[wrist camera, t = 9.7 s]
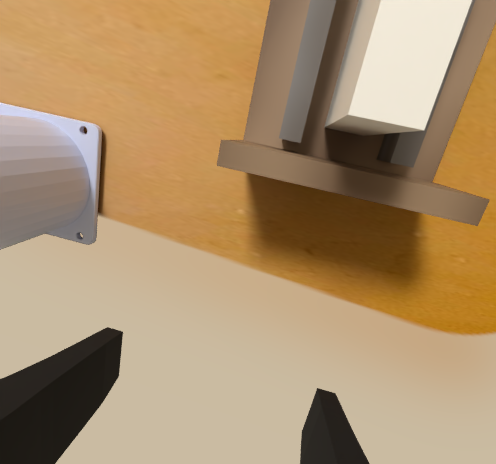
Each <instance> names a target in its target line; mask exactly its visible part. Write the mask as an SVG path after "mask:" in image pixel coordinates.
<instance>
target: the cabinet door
mask: <svg viewBox="0 0 496 464" xmlns="http://www.w3.org/2000/svg"><path fill="white" fill-rule="evenodd" d="M471 2H472V0H359V1H358V5H357V8H356V12H355V16H354V19H353V23H352V27H351V31H350V34H349V38H348V42H347V45H346V49H345V53H344V56H343V60H342V64H341V68H340V71H339V75H338V79H337V82H336V86H335V90H334V93H333V97H332V101H331V105H330V108H329V112H328V116H327V119H326V123H325V127H324V128H329V129H334V130H338V131H343V132H348V133H352V134H357V135H362V136H366V135H378V134H389V133H400V132H412V131H423V130H425V127H426V124H427V122H428V119H429V116H430V113H431V111H432V108H433V105H434V103H435V100H436V97H437V94H438V92H439V89H440V86H441V84H442V81H443V78H444V75H445V73H446V70H447V67H448V65H449V62H450V59H451V56H452V54H453V51H454V48H455V46H456V43H457V40H458V37H459V35H460V32H461V29H462V27H463V24H464V21H465V18H466V16H467V13H468V10H469V8H470V5H471Z"/></svg>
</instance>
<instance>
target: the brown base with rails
mask: <svg viewBox="0 0 496 464" xmlns="http://www.w3.org/2000/svg"><path fill="white" fill-rule="evenodd" d="M358 1H359V0H271V1H270V6H269V11H268V16H267V21H266V26H265V32H264V37H263V42H262V47H261V52H260V57H259V62H258V68H257V73H256V78H255V83H254V88H253V93H252V98H251V104H250V109H249V114H248V119H247V124H246V129H245V135H244V140H221V144H220V150H219V155H218V161H217V166H220V167H225V168H229V169H233V170H238V171H242V172H246V173H251V174H255V175H259V176H264V177H268V178H272V179H277V180H281V181H285V182H290V183H294V184H298V185H303V186H307V187H311V188H316V189H320V190H324V191H329V192H333V193H337V194H341V195H346V196H350V197H354V198H359V199H363V200H367V201H372V202H376V203H380V204H385V205H389V206H393V207H398V208H402V209H406V210H411V211H415V212H419V213H424V214H428V215H432V216H437V217H441V218H445V219H450V220H454V221H458V222H462V223H467V224H471V225H475V226H478V224H479V222H480V220H481V218H482V215H483V213H484V211H485V209H486V207H487V205H488V203H489V199H486V198H482V197H479V196H476V195H472V194H469V193H466V192H463V191H459V190H456V189H453V188H450V187H446V186H443V185H440V184H436V183H433V182H432V181H433V179H434V176H435V174H436V171H437V168H438V166H439V163H440V161H441V158H442V156H443V153H444V151H445V148H446V146H447V143H448V141H449V138H450V136H451V133H452V131H453V128H454V126H455V123H456V121H457V118H458V115H459V113H460V110H461V108H462V105H463V103H464V100H465V98H466V95H467V93H468V90H469V88H470V85H471V83H472V80H473V78H474V75H475V73H476V70H477V68H478V65H479V63H480V60H481V57H482V55H483V52H484V50H485V47H486V45H487V42H488V40H489V37H490V35H491V32H492V30H493V27H494V25H495V22H496V0H472V2H471V5H470V8H469V10H468V13H467V16H466V18H465V21H464V24H463V27H462V29H461V32H460V35H459V37H458V40H457V43H456V46H455V48H454V51H453V54H452V56H451V59H450V62H449V65H448V67H447V70H446V73H445V75H444V78H443V81H442V84H441V86H440V89H439V92H438V94H437V97H436V100H435V103H434V105H433V108H432V111H431V113H430V116H429V119H428V122H427V124H426V127H425V130H423V131H412V132H400V133H389V134H378V135H366V136H362V135H357V134H352V133H348V132H343V131H338V130H334V129H329V128H324V127H325V123H326V119H327V116H328V112H329V108H330V105H331V101H332V97H333V93H334V90H335V86H336V82H337V79H338V75H339V71H340V68H341V64H342V60H343V56H344V53H345V49H346V45H347V42H348V38H349V34H350V31H351V27H352V23H353V19H354V16H355V12H356V8H357V5H358Z"/></svg>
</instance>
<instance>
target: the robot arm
mask: <svg viewBox="0 0 496 464" xmlns="http://www.w3.org/2000/svg"><path fill="white" fill-rule="evenodd" d="M84 127H86V128H87V134H85V133H84ZM101 143H102V130H101V128H100V127H99V126H98V125H96V124H93V123H89V122H84V121H80V120H75V119H71V118H67V117H62V116H58V115H53V114H49V113H45V112H40V111H36V110H31V109H27V108H23V107H18V106H14V105H9V104H5V103H0V250H1V249H3V248H6V247H9V246H12V245H14V244H17V243H20V242H23V241H25V240H28V239H31V238H33V237H36V236H39V235H42V234H49V235H53V236H57V237H60V238H64V239H68V240H72V241H76V242H79V243H83V244H88V245H89V244H92V243H94V242H95V241H96V234H97V216H98V198H99V180H100V161H101ZM80 233H82V235H83V238H82V237H81V236H80ZM122 335H123V332H121V331H118V330H115V329H111V328H105V329H103V330H101V331H99V332H97V333H95V334H93V335H92V336H90V337H88V338H86V339H84V340H82V341H80V342H78V343H76V344H74V345H72V346H70V347H68V348H66V349H64V350H62V351H61V352H58V353H57V354H55V355H53V356H51V357H49V358H46V359H44V360H42V361H40V362H38V363H36V364H34V365H32V366H29V367H27V368H25V369H23V370H21V371H18V372H16V373H14V374H12V375H9V376H7V377H5V378H2V379H0V464H55V463H56V462H57V460H58V459H59V458H60V457H61V455H62V454H63V453H64V451H65V450H66V449H67V448H68V446H69V445H70V444H71V443H72V441H73V440H74V439H75V437H76V436H77V435H78V433H79V432H80V431H81V430H82V429H83V427H84V426H85V425H86V423H87V422H88V421H89V420H90V418H91V417H92V416H93V414H94V413H95V412H96V410H97V409H98V408H99V406H100V405H101V404H102V402H103V401H104V399H105V398H106V396H107V395H108V393H109V391H110V390H111V388H112V386H113V385H114V383H115V381H116V380H117V378H118V376H119V368H120V356H121V345H122ZM300 464H369V462H368V460H367V458H366V456H365V454H364V452H363V450H362V448H361V446H360V444H359V442H358V441H357V438H356V436H355V434H354V432H353V430H352V428H351V426H350V424H349V422H348V420H347V418H346V415H345V413H344V411H343V409H342V407H341V405H340V403H339V400H338V398H337V396H336V394H335V393H332V392H329V391H325V390H322V389H318V388H317V391H316V394H315V396H314V399H313V402H312V405H311V408H310V411H309V414H308V416H307V419H306V422H305V425H304V427H303V430H302V440H301V460H300Z"/></svg>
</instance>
